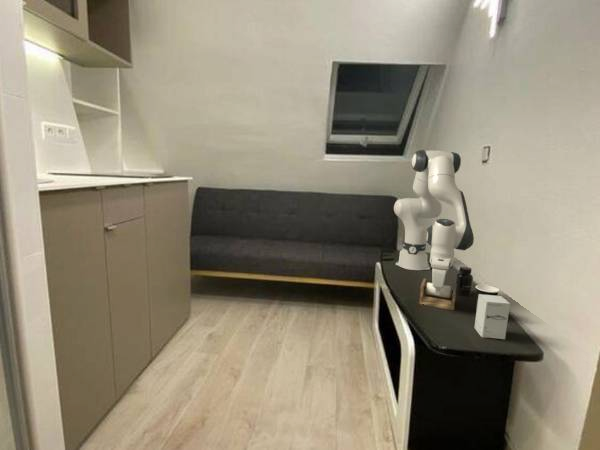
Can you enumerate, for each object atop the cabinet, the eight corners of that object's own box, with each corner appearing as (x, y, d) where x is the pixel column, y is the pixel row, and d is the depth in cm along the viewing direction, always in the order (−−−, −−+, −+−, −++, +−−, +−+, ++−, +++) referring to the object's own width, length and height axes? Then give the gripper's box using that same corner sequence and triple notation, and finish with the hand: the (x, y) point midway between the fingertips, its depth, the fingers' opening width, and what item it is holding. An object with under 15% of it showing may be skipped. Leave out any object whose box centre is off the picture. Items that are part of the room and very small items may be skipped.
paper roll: (425, 296, 142) (426, 284, 141) (426, 292, 146) (427, 280, 145) (449, 300, 138) (450, 288, 137) (450, 296, 142) (451, 284, 141)
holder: (419, 303, 140) (420, 284, 139) (422, 296, 149) (423, 278, 148) (453, 310, 135) (456, 290, 134) (454, 301, 144) (456, 283, 143)
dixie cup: (471, 316, 129) (474, 288, 127) (473, 310, 136) (476, 283, 134) (495, 322, 125) (499, 293, 123) (496, 314, 132) (499, 287, 130)
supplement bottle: (465, 297, 149) (468, 271, 147) (450, 292, 155) (453, 267, 153) (474, 294, 153) (477, 268, 151) (459, 290, 158) (462, 265, 157)
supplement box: (481, 338, 113) (486, 301, 111) (473, 327, 120) (478, 293, 118) (505, 340, 112) (510, 303, 110) (496, 330, 119) (501, 295, 117)
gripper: (435, 253, 150) (432, 283, 152) (430, 264, 132) (427, 298, 134) (451, 255, 147) (447, 286, 149) (448, 266, 129) (445, 301, 131)
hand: (438, 292), depth 141 cm, fingers closed on paper roll, 5 cm apart
